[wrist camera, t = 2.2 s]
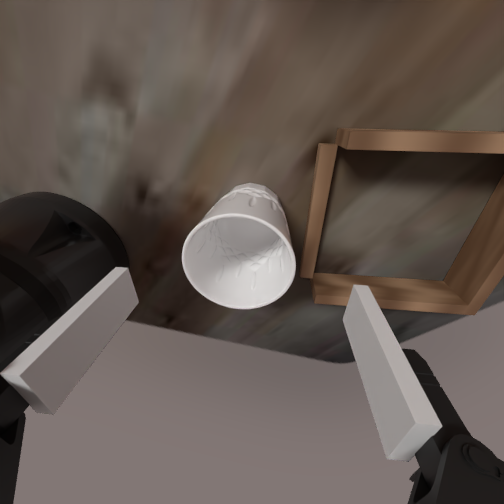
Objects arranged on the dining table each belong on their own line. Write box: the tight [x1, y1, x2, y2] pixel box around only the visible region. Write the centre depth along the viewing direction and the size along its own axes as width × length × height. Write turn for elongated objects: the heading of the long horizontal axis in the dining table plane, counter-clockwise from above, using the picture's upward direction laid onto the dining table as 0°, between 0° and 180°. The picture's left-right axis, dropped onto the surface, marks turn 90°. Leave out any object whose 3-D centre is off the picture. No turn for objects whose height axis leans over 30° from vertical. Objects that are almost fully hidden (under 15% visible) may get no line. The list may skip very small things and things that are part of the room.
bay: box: [299, 128, 504, 315], centre depth 21 cm, size 18×16×4 cm
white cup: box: [182, 183, 296, 309], centre depth 20 cm, size 8×8×10 cm
